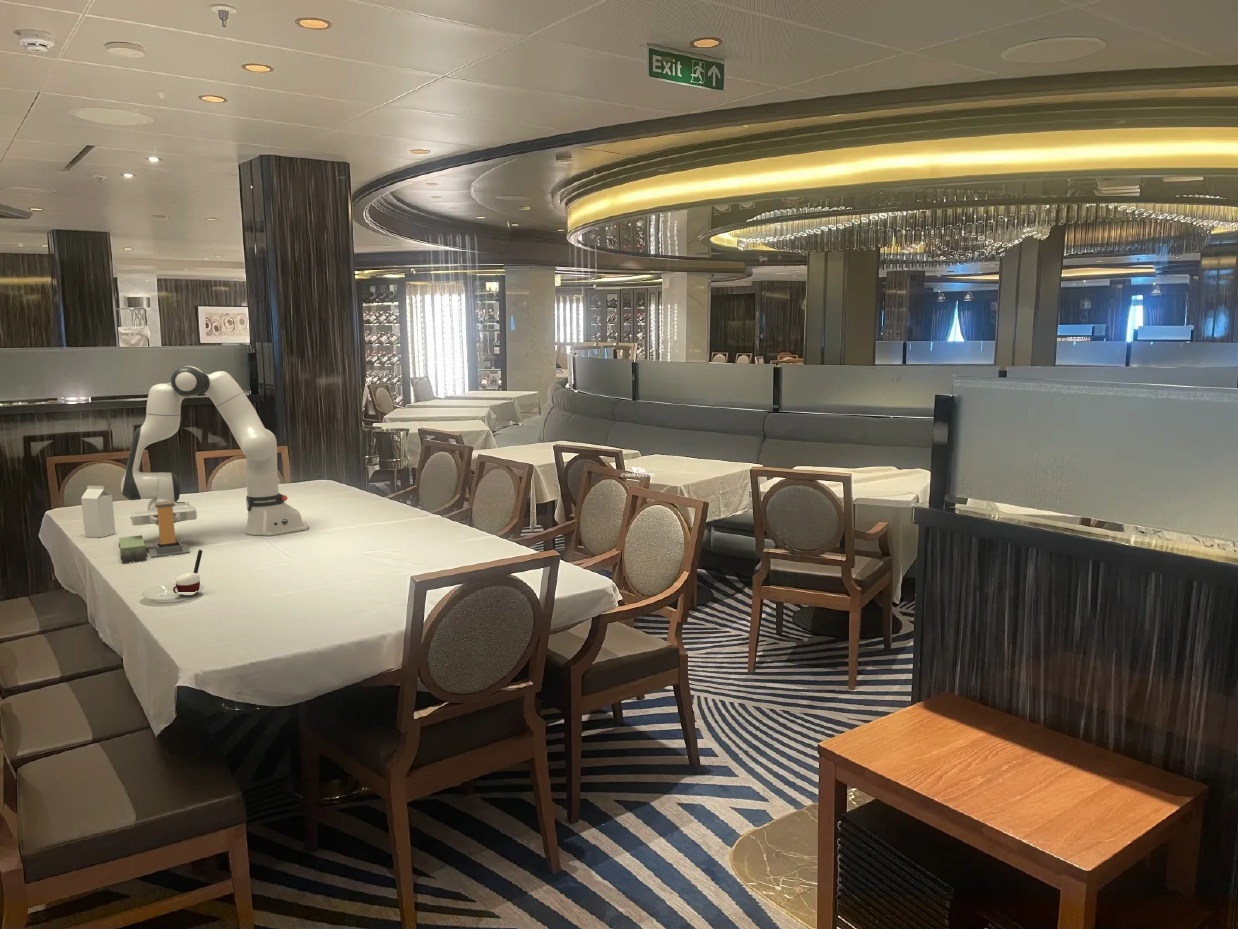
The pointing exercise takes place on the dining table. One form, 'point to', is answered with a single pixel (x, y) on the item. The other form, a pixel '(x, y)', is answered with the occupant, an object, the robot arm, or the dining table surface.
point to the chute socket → (169, 549)
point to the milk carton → (98, 512)
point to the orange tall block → (165, 521)
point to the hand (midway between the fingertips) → (166, 520)
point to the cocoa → (189, 579)
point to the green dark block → (132, 549)
